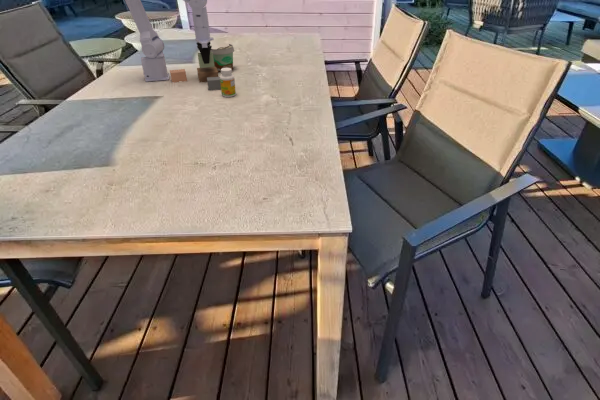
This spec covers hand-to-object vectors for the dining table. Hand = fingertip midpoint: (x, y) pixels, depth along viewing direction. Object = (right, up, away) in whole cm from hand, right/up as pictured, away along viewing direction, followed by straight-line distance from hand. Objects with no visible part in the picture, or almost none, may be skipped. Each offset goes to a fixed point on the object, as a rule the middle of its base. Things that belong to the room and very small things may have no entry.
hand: (206, 62), depth 157 cm
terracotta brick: (-12, -7, +2) cm, 14 cm away
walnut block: (0, -6, +4) cm, 7 cm away
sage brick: (0, -1, +1) cm, 2 cm away
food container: (+6, +1, +14) cm, 15 cm away
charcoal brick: (+5, -13, -6) cm, 15 cm away
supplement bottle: (+12, -17, -12) cm, 24 cm away
